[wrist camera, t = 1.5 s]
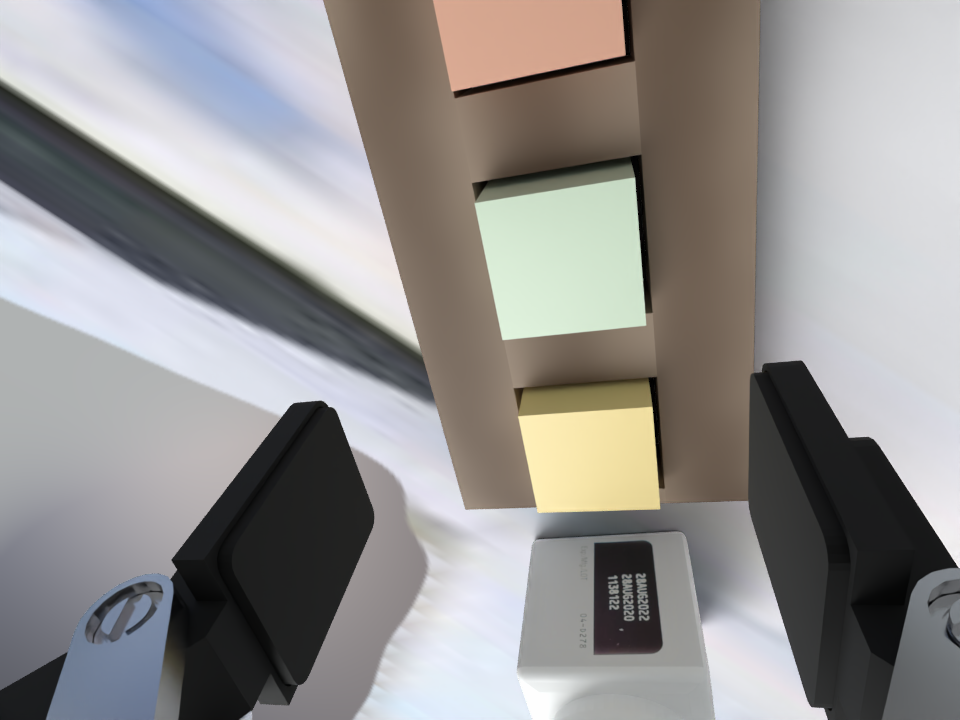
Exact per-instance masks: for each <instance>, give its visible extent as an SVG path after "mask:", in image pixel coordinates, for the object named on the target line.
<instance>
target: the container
mask: <svg viewBox="0 0 960 720" xmlns="http://www.w3.org/2000/svg"><path fill="white" fill-rule="evenodd" d="M517 677H518V680H519V683H520V685H521V688H522V691H523V694H524V697H525V700H526V702H527V705H528V708H529V711H530V714H531V716H532V719H533V720H715V713H714V705H713V696H712V688H711V680H710V672H709V666H708V660H707V654H706V649H705V643H704V637H703V631H702V625H701V619H700V614H699V608H698V602H697V596H696V590H695V584H694V579H693V573H692V567H691V561H690V555H689V549H688V544H687V539H686V537H685V535H684V534H683V533H682V532H678V531H675V532H658V533H641V534H623V535H606V536H589V537H571V538H554V539H538V540H535V541H534V542H533V544H532V550H531V558H530V566H529V574H528V583H527V591H526V599H525V607H524V616H523V624H522V632H521V640H520V649H519V657H518V665H517Z"/></svg>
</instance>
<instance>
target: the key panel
mask: <svg viewBox="0 0 960 720" xmlns="http://www.w3.org/2000/svg"><path fill="white" fill-rule="evenodd" d="M323 1H324V5H325V8H326V12H327V15H328V19H329V23H330V26H331V30H332V33H333V37H334V40H335V44H336V48H337V51H338V55H339V58H340V62H341V65H342V69H343V73H344V76H345V80H346V83H347V87H348V91H349V94H350V98H351V101H352V105H353V108H354V112H355V116H356V119H357V123H358V126H359V130H360V134H361V137H362V141H363V144H364V148H365V151H366V155H367V159H368V162H369V166H370V169H371V173H372V176H373V180H374V184H375V187H376V191H377V194H378V198H379V202H380V205H381V209H382V212H383V216H384V219H385V223H386V227H387V230H388V234H389V237H390V241H391V245H392V248H393V252H394V255H395V259H396V262H397V266H398V270H399V273H400V277H401V280H402V284H403V288H404V291H405V295H406V298H407V302H408V305H409V309H410V313H411V316H412V320H413V323H414V327H415V330H416V334H417V338H418V341H419V345H420V348H421V352H422V356H423V359H424V363H425V366H426V370H427V373H428V377H429V381H430V384H431V388H432V391H433V395H434V399H435V402H436V406H437V409H438V413H439V416H440V420H441V424H442V427H443V431H444V434H445V438H446V441H447V445H448V449H449V452H450V456H451V459H452V463H453V467H454V470H455V474H456V477H457V481H458V484H459V488H460V492H461V495H462V499H463V502H464V506H465V510H468V509H499V508H531V507H537V506H536V501H535V496H534V492H533V487H532V482H531V477H530V472H529V467H528V462H527V457H526V452H525V448H524V443H523V438H522V433H521V428H520V423H519V418H518V414H519V409H520V404H521V399H522V394H523V388H524V387H536V386H548V385H560V384H573V383H585V382H597V381H610V380H622V379H634V378H647V377H654V388H655V402H656V416H657V429H658V443H659V444H655V446H656V459H657V472H658V485H659V498H660V503H689V502H721V501H748V470H749V400H750V376H751V374H752V373H754V322H755V267H756V211H757V156H758V101H759V46H760V0H626V6H627V20H628V33H629V47H630V55H628V56H623V57H618V58H613V59H608V60H604V61H599V62H594V63H589V64H585V65H580V66H575V67H570V68H565V69H561V70H556V71H551V72H546V73H541V74H537V75H532V76H527V77H522V78H517V79H513V80H508V81H503V82H498V83H494V84H489V85H484V86H479V87H474V88H472V87H471V88H467V89H462V90H457V91H451V86H450V81H449V76H448V71H447V66H446V61H445V57H444V52H443V47H442V42H441V37H440V32H439V27H438V22H437V17H436V13H435V8H434V3H433V0H323ZM635 155H637V156H638V170H639V184H640V197H641V211H642V225H643V238H644V252H645V266H646V279H647V280H644V281H643V289H644V302H645V315H646V326H638V327H628V328H618V329H608V330H598V331H588V332H579V333H569V334H559V335H549V336H539V337H529V338H519V339H510V340H502V335H501V330H500V325H499V320H498V316H497V311H496V306H495V301H494V296H493V291H492V286H491V281H490V276H489V272H488V267H487V262H486V257H485V252H484V247H483V242H482V237H481V232H480V228H479V223H478V218H477V213H476V208H475V202H476V200H477V198H478V197H479V195H480V194H481V192H482V191H483V189H484V187H485V186H486V184H487V183H488V181H489V180H493V179H499V178H505V177H511V176H517V175H523V174H528V173H534V172H540V171H546V170H552V169H558V168H564V167H570V166H576V165H582V164H588V163H594V162H600V161H605V160H611V159H617V158H623V157H629V156H635Z"/></svg>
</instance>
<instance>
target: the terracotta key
mask: <svg viewBox="0 0 960 720" xmlns="http://www.w3.org/2000/svg"><path fill="white" fill-rule="evenodd" d="M433 3H434V8H435V13H436V17H437V22H438V27H439V32H440V37H441V42H442V47H443V52H444V57H445V61H446V66H447V71H448V76H449V81H450V86H451V91H457V90H462V89H467V88H471V87H476V86H481V85H486V84H490V83H495V82H500V81H505V80H510V79H514V78H519V77H524V76H529V75H533V74H538V73H543V72H548V71H553V70H557V69H562V68H567V67H572V66H577V65H581V64H586V63H591V62H596V61H600V60H605V59H610V58H615V57H620V56H624V55H626V53H625V40H624V27H623V14H622V1H621V0H433Z"/></svg>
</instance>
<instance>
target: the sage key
mask: <svg viewBox="0 0 960 720" xmlns="http://www.w3.org/2000/svg"><path fill="white" fill-rule="evenodd" d="M475 208H476V213H477V218H478V223H479V228H480V232H481V237H482V242H483V247H484V252H485V257H486V262H487V267H488V272H489V276H490V281H491V286H492V291H493V296H494V301H495V306H496V311H497V316H498V320H499V325H500V330H501V335H502V340H510V339H519V338H529V337H539V336H549V335H559V334H569V333H579V332H588V331H598V330H608V329H618V328H628V327H638V326H646V315H645V302H644V289H643V276H642V263H641V250H640V237H639V223H638V210H637V197H636V184H635V175H634V171H633V167H632V162H631V158H630V156H629V157H623V158H617V159H611V160H605V161H600V162H594V163H588V164H582V165H576V166H570V167H564V168H558V169H552V170H546V171H540V172H534V173H528V174H523V175H517V176H511V177H505V178H499V179H493V180H489V181H488V183H487V184H486V186H485V187H484V189H483V191H482V192H481V194H480V195H479V197H478V198H477V200H476V202H475Z"/></svg>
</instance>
